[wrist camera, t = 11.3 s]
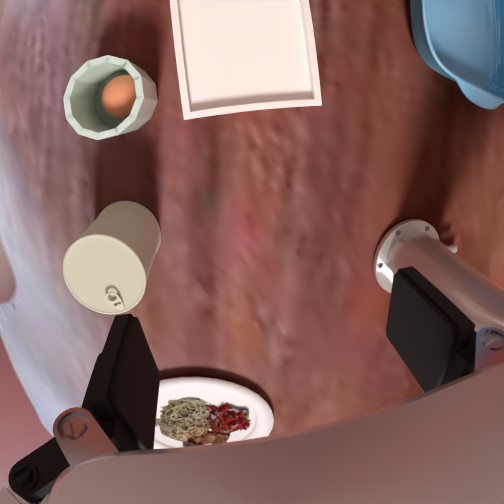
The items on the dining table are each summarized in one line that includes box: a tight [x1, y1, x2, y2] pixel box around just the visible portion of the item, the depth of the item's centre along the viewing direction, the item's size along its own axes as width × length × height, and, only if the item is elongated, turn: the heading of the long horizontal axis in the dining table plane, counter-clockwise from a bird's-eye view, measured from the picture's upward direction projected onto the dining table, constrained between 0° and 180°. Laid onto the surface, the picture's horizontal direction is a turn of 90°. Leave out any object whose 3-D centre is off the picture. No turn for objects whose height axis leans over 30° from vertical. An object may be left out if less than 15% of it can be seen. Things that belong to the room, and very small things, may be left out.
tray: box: [170, 0, 322, 120], centre depth 31 cm, size 16×18×2 cm
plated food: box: [154, 377, 274, 449], centre depth 56 cm, size 30×30×3 cm
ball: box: [102, 75, 137, 119], centre depth 30 cm, size 5×5×5 cm
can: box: [63, 201, 161, 314], centre depth 35 cm, size 9×9×12 cm
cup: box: [63, 55, 158, 140], centre depth 29 cm, size 8×8×8 cm
